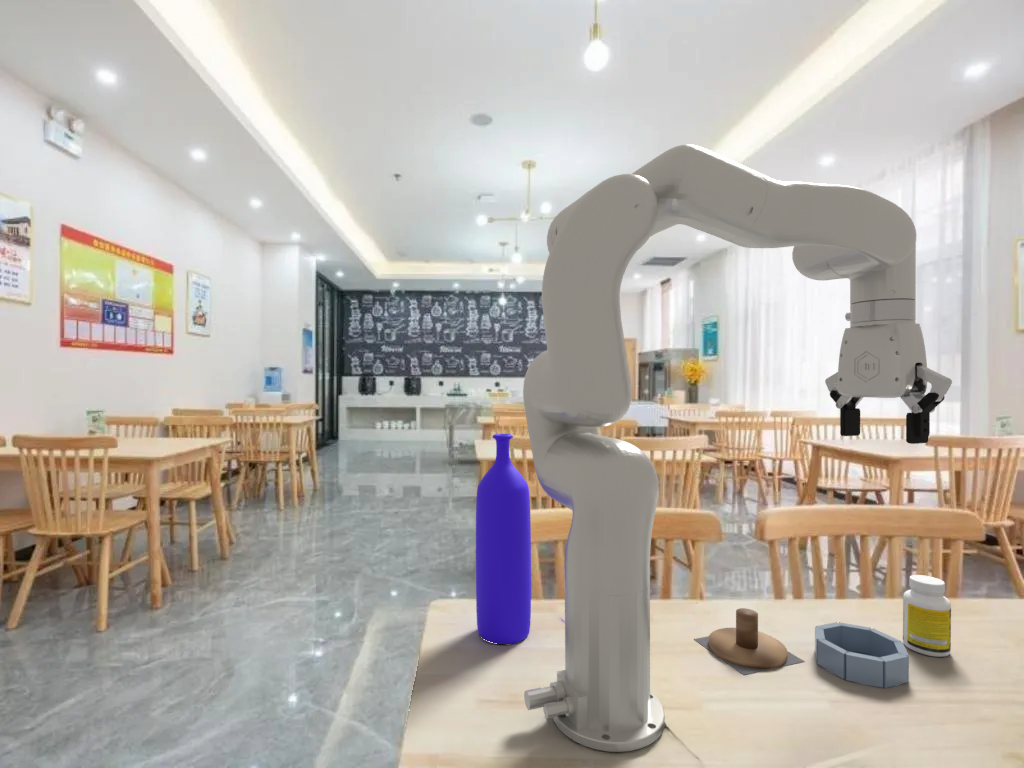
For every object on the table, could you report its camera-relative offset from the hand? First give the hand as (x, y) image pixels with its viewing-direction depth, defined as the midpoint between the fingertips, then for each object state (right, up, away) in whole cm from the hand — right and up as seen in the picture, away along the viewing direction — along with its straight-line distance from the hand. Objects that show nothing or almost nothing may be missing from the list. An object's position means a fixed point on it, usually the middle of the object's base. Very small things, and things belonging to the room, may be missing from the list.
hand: (881, 439), depth 76 cm
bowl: (-6, -30, -4) cm, 31 cm away
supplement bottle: (+7, -30, +1) cm, 31 cm away
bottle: (-53, -30, +6) cm, 61 cm away
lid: (-19, -29, 0) cm, 35 cm away
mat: (-19, -30, 0) cm, 35 cm away
